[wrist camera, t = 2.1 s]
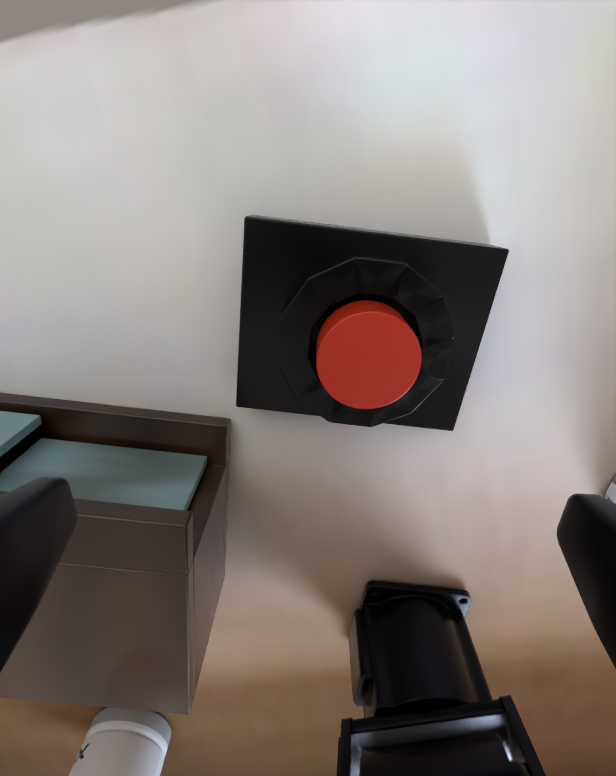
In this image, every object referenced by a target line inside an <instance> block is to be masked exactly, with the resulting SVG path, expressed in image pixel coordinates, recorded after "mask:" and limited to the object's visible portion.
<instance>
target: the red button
mask: <svg viewBox="0 0 616 776" xmlns="http://www.w3.org/2000/svg"><path fill="white" fill-rule="evenodd" d="M316 367H317V373H318V376H319V379H320V382H321V383H322V385H323V387H324V388H325V390H326V391H327V392H328V393H329V394H330V395H331V396H332V397H333V398H334V399H336V400H337V401H339V402H340V403H342V404H345V405H347V406H350V407H353V408H359V409H374V408H380V407H383V406H386V405H388V404H391V403H393V402H394V401H396V400H398V399H399V398H401V397H402V396H403V395H404V394H405V393H406V392H407V391H408V390H409V389H410V388H411V387H412V385H413V384H414V382H415V380H416V378H417V376H418V374H419V371H420V367H421V348H420V344H419V341H418V339H417V337H416V335H415V333H414V332H413V330H412V329H411V328H410V326H409V325H408V323H407V322H406V321H405V319H404V318H403V317H402V316H401V314H400V313H399V312H397V311H396V310H395V309H394V308H392V307H391V306H389V305H387V304H385V303H382V302H379V301H373V300H359V301H354V302H351V303H348V304H346V305H344V306H342V307H340V308H338V309H337V310H335V311H334V312H333V313H332V314H331V315H330V316H329V317H328V318H327V319H326V321H325V322H324V324H323V325H322V327H321V329H320V332H319V334H318V338H317V347H316Z"/></svg>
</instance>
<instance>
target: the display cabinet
mask: <svg viewBox="0 0 616 776" xmlns="http://www.w3.org/2000/svg"><path fill="white" fill-rule="evenodd" d="M0 411H6V412H15V413H23V414H32V415H40V417H41V422H42V424H41V425H40V426H38V427H37V428H36V429H35V430H33V431H32V432H31V433H30V434H28V435H27V436H26V437H25V438H23V439H22V440H21V441H20V442H18V443H17V444H16V445H15V446H13V447H12V448H11V449H10V450H8V451H7V452H6V453H5V454H3V455H2V456H1V457H0V496H1V495H3V494H6V493H8V492H10V491H12V490H14V489H16V488H18V487H20V486H22V485H24V484H26V483H28V482H31V481H33V480H35V479H37V478H40V477H62V478H64V479H66V480H67V481H68V483H69V486H70V489H71V493H72V496H73V499H74V503H75V506H76V510H77V522H76V526H75V528H74V531H73V533H72V535H71V537H70V539H69V541H68V544H67V546H66V548H65V550H64V552H63V555H62V557H61V559H60V561H59V563H58V565H57V568H56V570H55V572H54V574H53V576H52V578H51V581H50V583H49V585H48V587H47V589H46V592H45V594H44V596H43V598H42V600H41V602H40V604H39V606H38V608H37V610H36V612H35V613H34V615H33V617H32V619H31V621H30V623H29V624H28V626H27V628H26V630H25V631H24V633H23V635H22V636H21V638H20V640H19V642H18V643H17V645H16V647H15V649H14V650H13V652H12V654H11V655H10V657H9V659H8V661H7V662H6V664H5V666H4V668H3V669H2V671H1V673H0V697H4V698H15V699H26V700H36V701H47V702H58V703H68V704H79V705H90V706H101V707H111V708H122V709H133V710H143V711H154V712H165V713H175V714H186V715H189V714H190V711H191V707H192V703H193V699H194V694H195V691H196V688H197V684H198V680H199V676H200V672H201V668H202V664H203V660H204V656H205V652H206V648H207V644H208V640H209V636H210V632H211V628H212V624H213V620H214V616H215V612H216V608H217V604H218V600H219V596H220V592H221V588H222V584H223V581H224V574H225V549H226V524H227V499H228V473H229V447H230V421H231V420H230V419H227V418H219V417H210V416H201V415H192V414H183V413H174V412H165V411H157V410H148V409H139V408H130V407H121V406H112V405H103V404H95V403H86V402H77V401H68V400H59V399H50V398H41V397H32V396H24V395H15V394H6V393H0Z"/></svg>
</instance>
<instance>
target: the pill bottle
mask: <svg viewBox="0 0 616 776" xmlns="http://www.w3.org/2000/svg"><path fill="white" fill-rule="evenodd" d="M605 498H606V499H608V500H609V501H611V502H613V503H615V504H616V477H615V478H614V480H613V481H612V482H611V484H610V486H609V488H608V490H607V493H606V495H605Z"/></svg>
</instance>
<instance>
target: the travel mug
mask: <svg viewBox="0 0 616 776" xmlns="http://www.w3.org/2000/svg"><path fill="white" fill-rule="evenodd" d="M170 737H171V728H170V726H169V724H168V722H167V721H166V720H165V719H164V718H163V717H162V716H161V715H160V714H158V713H156V712H154V711H143V710H133V709H122V708H111V707H108V708H105V709H103V710H101V711H100V712H99V713H98V714H97V715H96V716H95V717H94V719H93V721H92V724H91V726H90V728H89V730H88V733H87V735H86V737H85V741H84V742H83V744H82V746H81V749H80V751H79V753H78V756H77V758H76V760H75V762H74V765H73V767H72V769H71V772H70V774H69V776H160V773H161V770H162V766H163V762H164V757H165V755H166V752H167V748H168V744H169V741H170Z"/></svg>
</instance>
